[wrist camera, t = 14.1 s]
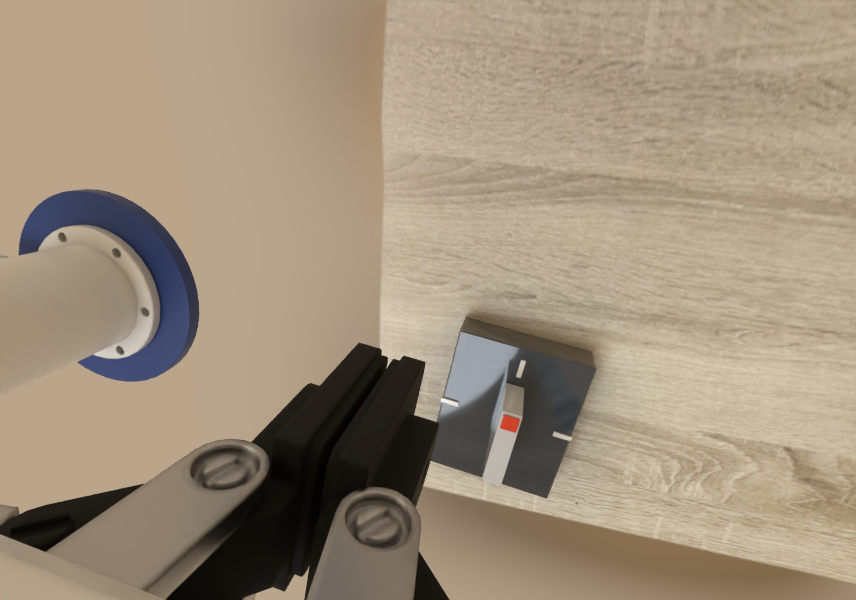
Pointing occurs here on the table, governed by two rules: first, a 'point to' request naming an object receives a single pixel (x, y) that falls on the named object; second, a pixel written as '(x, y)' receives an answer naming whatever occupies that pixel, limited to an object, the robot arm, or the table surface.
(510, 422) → the tap lever
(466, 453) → the base
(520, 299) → the table surface
